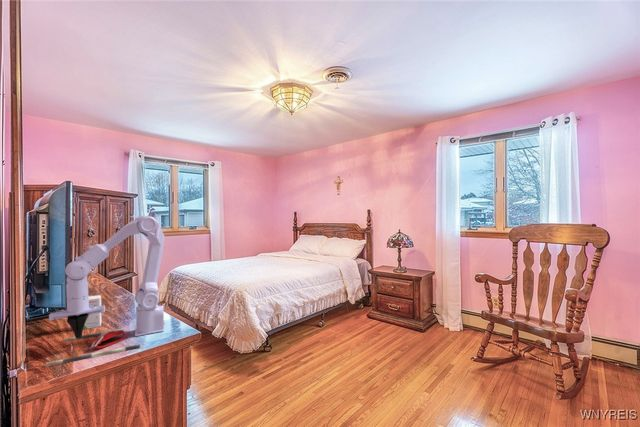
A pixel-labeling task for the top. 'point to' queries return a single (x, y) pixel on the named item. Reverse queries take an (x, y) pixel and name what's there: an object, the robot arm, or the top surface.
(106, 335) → the tracker holder
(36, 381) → the top surface
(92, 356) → the track
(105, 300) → the top surface
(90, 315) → the ink box
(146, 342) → the top surface
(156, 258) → the robot arm
